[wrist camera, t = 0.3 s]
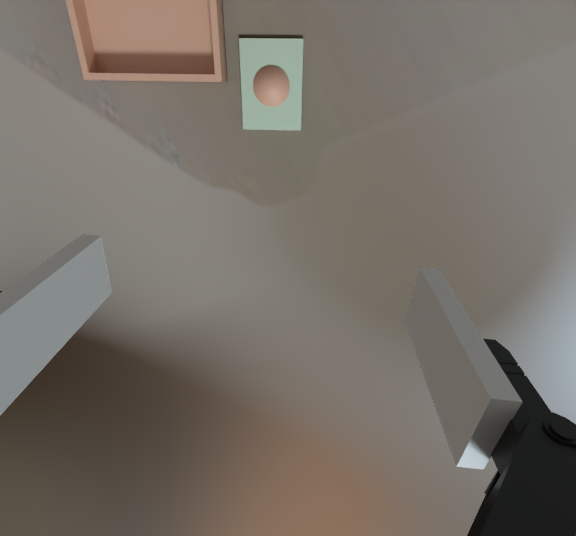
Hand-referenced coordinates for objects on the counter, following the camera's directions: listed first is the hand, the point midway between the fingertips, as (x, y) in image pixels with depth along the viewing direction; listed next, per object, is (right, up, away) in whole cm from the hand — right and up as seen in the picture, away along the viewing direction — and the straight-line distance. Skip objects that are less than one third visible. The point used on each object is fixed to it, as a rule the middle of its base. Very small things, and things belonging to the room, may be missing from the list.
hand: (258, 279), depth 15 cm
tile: (0, +19, +20) cm, 28 cm away
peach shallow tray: (-11, +25, +18) cm, 33 cm away
